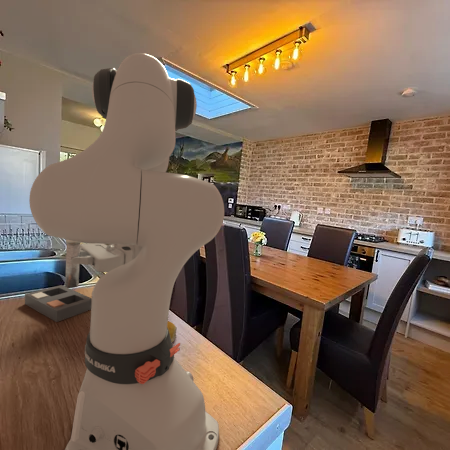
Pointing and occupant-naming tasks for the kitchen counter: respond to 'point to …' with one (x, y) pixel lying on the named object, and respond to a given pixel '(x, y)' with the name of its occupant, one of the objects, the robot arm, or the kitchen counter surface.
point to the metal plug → (72, 269)
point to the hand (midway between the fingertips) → (69, 258)
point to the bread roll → (172, 330)
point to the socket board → (58, 302)
